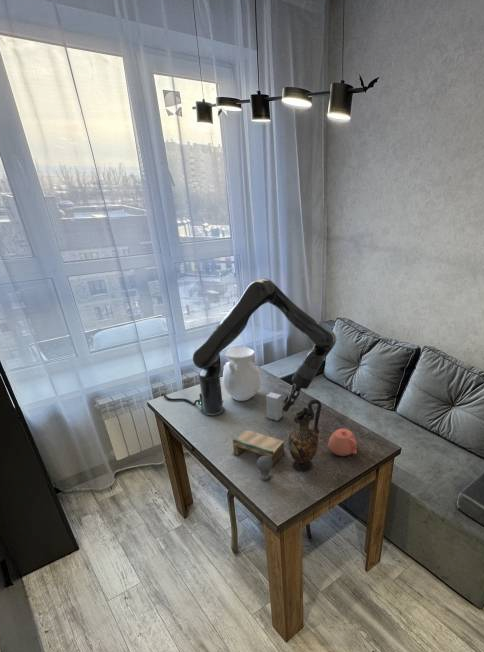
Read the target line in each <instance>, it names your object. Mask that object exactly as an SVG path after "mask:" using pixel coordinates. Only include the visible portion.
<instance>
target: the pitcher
mask: <svg viewBox="0 0 484 652" xmlns="http://www.w3.org/2000/svg"><path fill="white" fill-rule="evenodd" d="M225 356H226V358H227V360H228V361H227V362H225V364H224V365H223V368H222V369H223V371H222V385H223V387H224V389H225V391H226V392H227V394H228V396H230V397H231V398H233V399H234V400H235V401H238V402H245V401H248V400H251V398H253V397H255V395H256V393H258V391H259V390H260V388H261V374H260V370H259V368H258V367H257V366H256V362H253V359H254V357H255V350H253V349H252V348H250V347H247V346H235V347H234V346H233V347H230V348H228V349H226V351H225Z"/></svg>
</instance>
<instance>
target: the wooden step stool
mask: <svg viewBox="0 0 484 652" xmlns="http://www.w3.org/2000/svg"><path fill="white" fill-rule="evenodd" d="M232 446H233V455H235V456H240V454H242V452H244V450H246V451H250V452H253V453H257V454H259V455H262V456H268V457H270V458H271V459H272V461H273V466H274V465H275V464H276V463H277V462H278V461H279V460H280V458H281V457H282V456H284V453H285V440H282V439H278V438H275V437H271V436H268V435H266V434H261V433H258V432H255V431H251V430H248V429H246V430H245V431H243V433H241V435H239V436H238V437H237V438H236V437H235V438H234V437H233V438H232Z"/></svg>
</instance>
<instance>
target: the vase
mask: <svg viewBox="0 0 484 652" xmlns="http://www.w3.org/2000/svg"><path fill="white" fill-rule="evenodd" d="M313 405H317V408H316V411H315V413H314V410H313ZM321 412H322V402H320V400H318V399H311V400H310V401H308V403H307V407H303V408H302V410H300V411H299V412H297V413H296V414H295V415H294V417H293V421H294V423H295V424H299V426H298V428H295V429H293V430H292V431H290V433H289V434H288V438H287V445H288V450H289V453H290V456H291V458H292V459H293V460H294V463H293V468H294V469H295V470H297V471H299V472H304V471H308V470H310V469H311V467H312V463H311V461H312V459H314V457H315V456H316V454H317V451H318V447H319V436H318V435H319V434H320V430H319V420H320V415H321ZM313 420H314V426H313V429H312V428H310V427H309V426H310V425H309V424H310V423H311V421H313Z"/></svg>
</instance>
